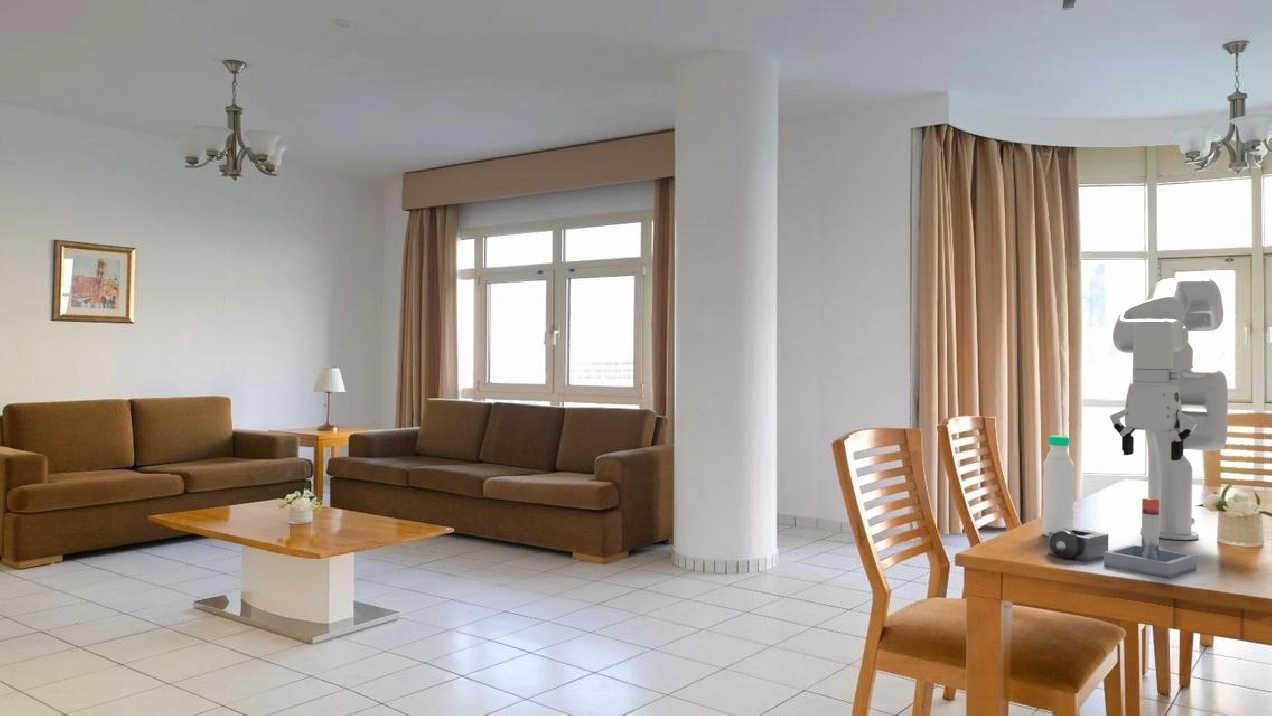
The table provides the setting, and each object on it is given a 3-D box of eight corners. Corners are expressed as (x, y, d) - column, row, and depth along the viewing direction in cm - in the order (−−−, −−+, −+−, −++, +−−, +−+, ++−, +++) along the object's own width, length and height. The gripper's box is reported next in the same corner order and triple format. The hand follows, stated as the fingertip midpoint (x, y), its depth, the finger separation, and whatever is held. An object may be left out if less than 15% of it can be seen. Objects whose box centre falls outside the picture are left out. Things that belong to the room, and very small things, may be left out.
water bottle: (1076, 539, 220) (1078, 437, 220) (1046, 537, 221) (1047, 437, 221) (1068, 533, 227) (1070, 435, 226) (1039, 532, 228) (1040, 434, 228)
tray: (1132, 557, 200) (1133, 544, 200) (1196, 569, 190) (1196, 555, 190) (1104, 565, 193) (1104, 551, 192) (1168, 578, 182) (1168, 563, 182)
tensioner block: (1068, 548, 209) (1069, 523, 209) (1108, 556, 202) (1108, 529, 202) (1040, 555, 202) (1041, 528, 202) (1080, 563, 194) (1080, 535, 194)
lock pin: (1145, 562, 193) (1146, 497, 193) (1161, 565, 191) (1162, 499, 191) (1138, 564, 191) (1139, 499, 191) (1154, 567, 189) (1155, 501, 189)
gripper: (1205, 378, 186) (1203, 460, 187) (1119, 375, 200) (1118, 451, 201) (1189, 379, 182) (1188, 463, 182) (1103, 376, 196) (1102, 454, 196)
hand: (1151, 457), depth 191 cm, fingers open, 9 cm apart
